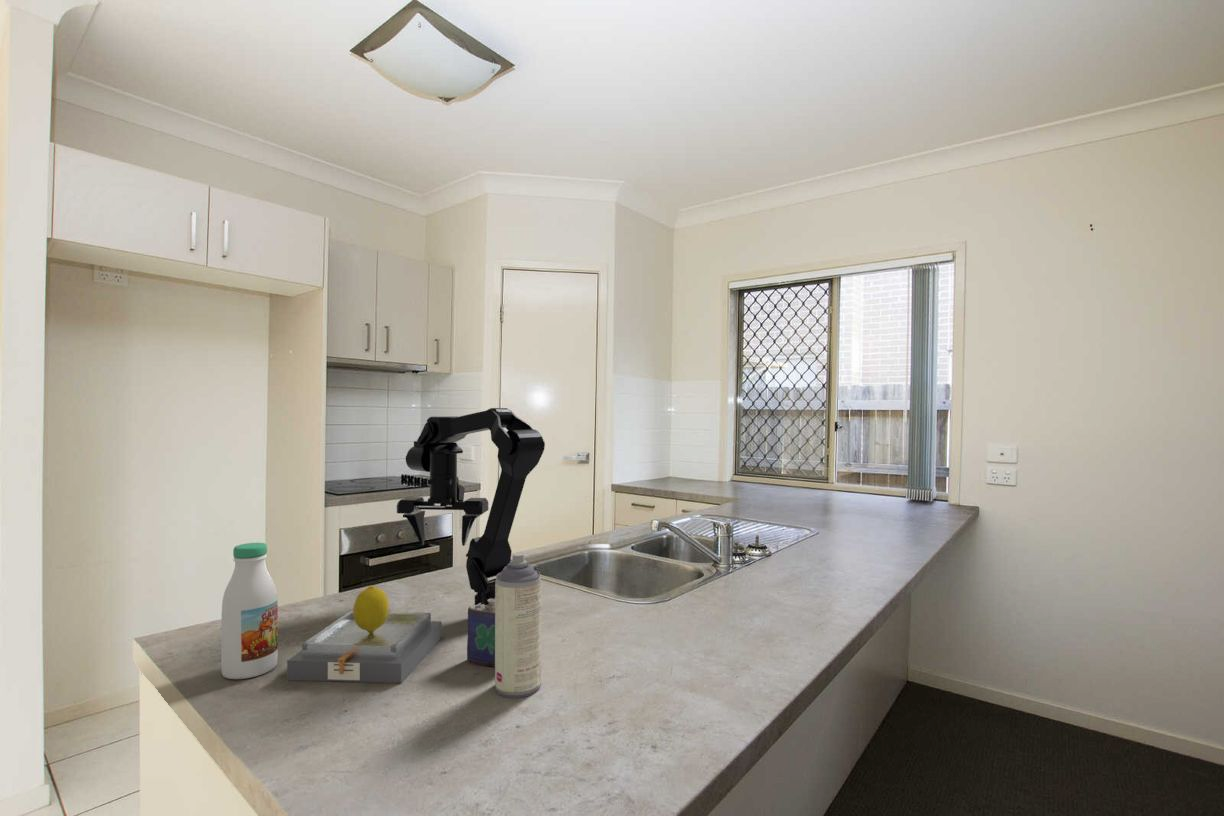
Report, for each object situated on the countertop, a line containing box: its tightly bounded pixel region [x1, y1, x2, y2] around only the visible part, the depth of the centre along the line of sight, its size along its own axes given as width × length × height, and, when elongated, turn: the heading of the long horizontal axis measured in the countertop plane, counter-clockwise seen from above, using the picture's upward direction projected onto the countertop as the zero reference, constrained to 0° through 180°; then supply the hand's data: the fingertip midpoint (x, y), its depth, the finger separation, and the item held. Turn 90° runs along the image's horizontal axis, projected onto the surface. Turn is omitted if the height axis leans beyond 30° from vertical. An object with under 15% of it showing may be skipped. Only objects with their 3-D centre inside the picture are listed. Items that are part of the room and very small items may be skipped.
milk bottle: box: [220, 542, 279, 680], centre depth 95 cm, size 8×8×20 cm
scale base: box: [286, 620, 443, 684], centre depth 100 cm, size 18×18×3 cm
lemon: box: [352, 585, 390, 633], centre depth 100 cm, size 6×6×8 cm
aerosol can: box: [494, 552, 542, 699], centre depth 90 cm, size 7×7×20 cm
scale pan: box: [301, 610, 432, 674], centre depth 99 cm, size 15×17×4 cm
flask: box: [466, 598, 495, 668], centre depth 98 cm, size 9×3×11 cm, turn 74°
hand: (443, 545), depth 130 cm, fingers open, 9 cm apart
